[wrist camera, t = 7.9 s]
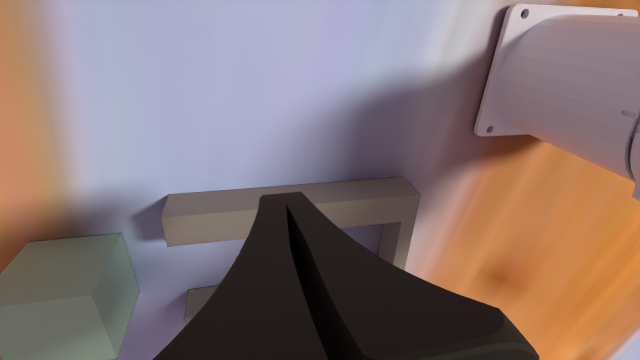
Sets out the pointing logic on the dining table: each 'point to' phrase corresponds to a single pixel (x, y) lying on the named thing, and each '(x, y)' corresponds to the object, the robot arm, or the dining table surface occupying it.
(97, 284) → the block
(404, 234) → the chute
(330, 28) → the dining table surface
